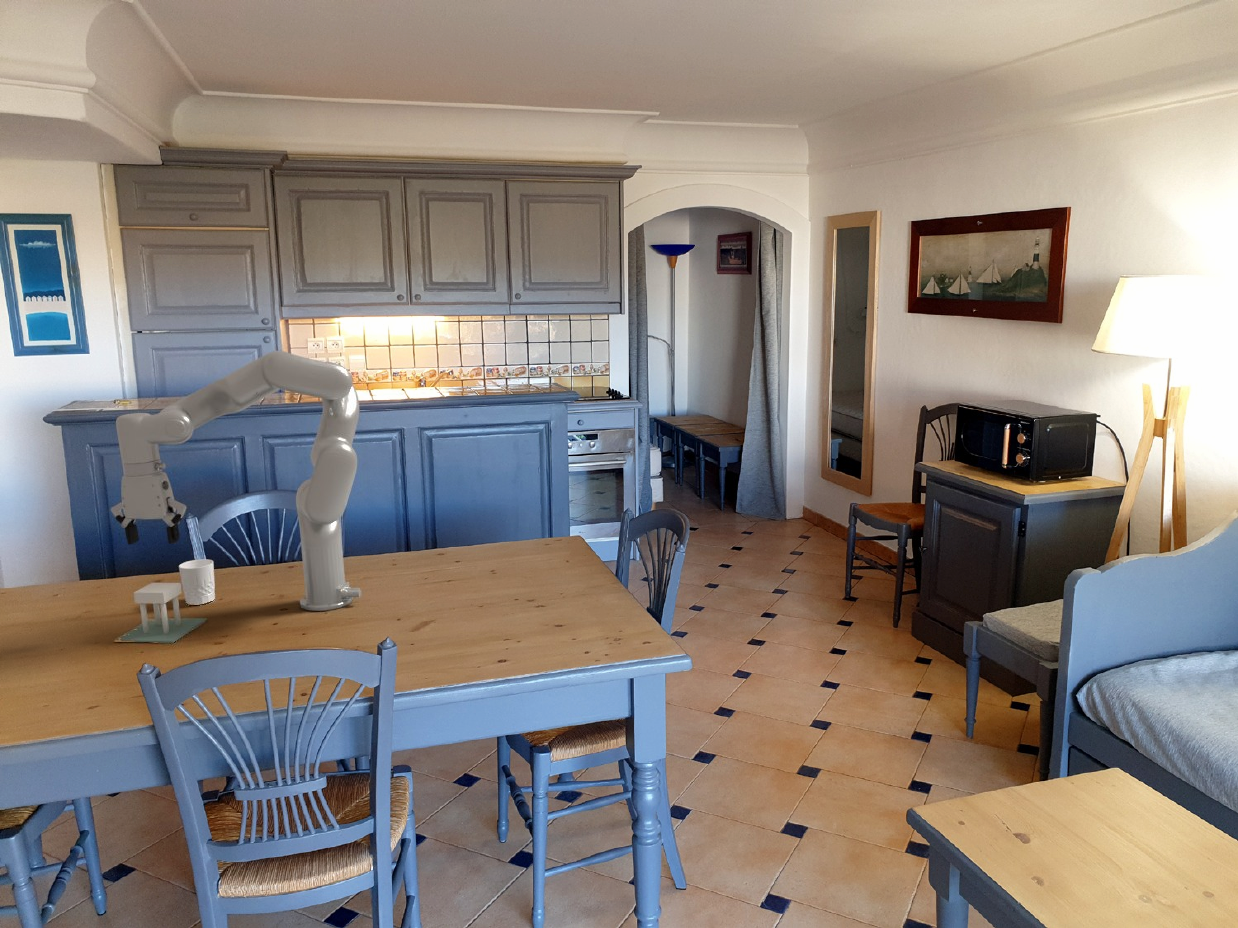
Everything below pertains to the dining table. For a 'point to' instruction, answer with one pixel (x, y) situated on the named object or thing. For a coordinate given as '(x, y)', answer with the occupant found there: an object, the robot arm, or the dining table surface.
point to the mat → (157, 631)
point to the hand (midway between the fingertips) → (153, 542)
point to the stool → (158, 595)
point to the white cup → (198, 581)
